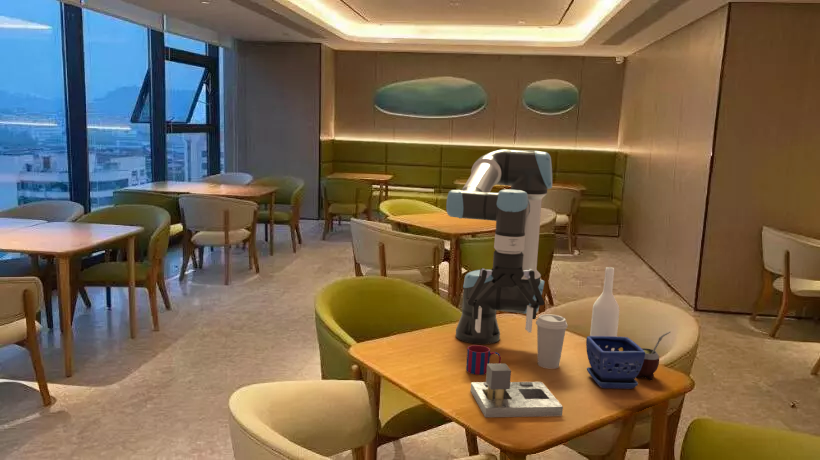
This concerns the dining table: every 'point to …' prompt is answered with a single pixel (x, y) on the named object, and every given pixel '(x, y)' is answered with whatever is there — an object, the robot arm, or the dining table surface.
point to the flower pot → (614, 361)
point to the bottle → (605, 310)
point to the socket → (517, 400)
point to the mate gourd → (650, 361)
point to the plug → (497, 380)
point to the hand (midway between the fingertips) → (503, 331)
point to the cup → (478, 359)
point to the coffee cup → (550, 339)
